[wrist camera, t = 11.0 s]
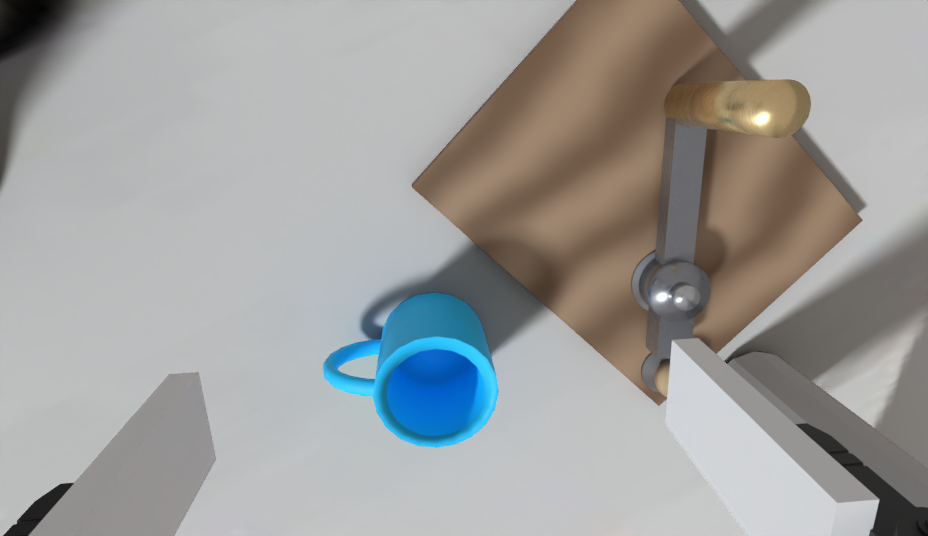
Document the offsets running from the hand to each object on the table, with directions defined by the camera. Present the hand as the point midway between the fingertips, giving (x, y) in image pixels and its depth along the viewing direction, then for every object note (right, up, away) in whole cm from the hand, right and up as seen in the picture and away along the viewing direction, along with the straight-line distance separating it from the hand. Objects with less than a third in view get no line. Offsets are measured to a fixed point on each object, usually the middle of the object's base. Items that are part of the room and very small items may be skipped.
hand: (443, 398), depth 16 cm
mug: (-4, -2, +29) cm, 29 cm away
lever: (+16, +7, +25) cm, 31 cm away
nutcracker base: (+14, +9, +26) cm, 31 cm away
